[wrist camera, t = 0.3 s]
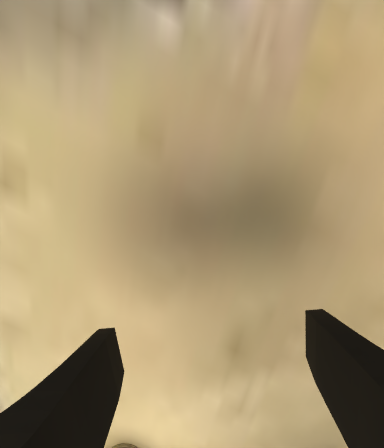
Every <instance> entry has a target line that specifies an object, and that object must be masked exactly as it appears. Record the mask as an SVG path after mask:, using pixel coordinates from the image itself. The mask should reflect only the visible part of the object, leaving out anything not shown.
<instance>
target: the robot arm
mask: <svg viewBox="0 0 384 448" xmlns="http://www.w3.org/2000/svg"><path fill="white" fill-rule="evenodd" d="M305 312H306V358H307V361H308V364H309V367H310V369H311V372H312V375H313V377H314V380H315V383H316V385H317V387H318V389H319V391H320V393H321V395H322V397H323V399H324V401H325V403H326V405H327V407H328V409H329V411H330V413H331V415H332V417H333V418H334V420H335V422H336V424H337V426H338V428H339V430H340V432H341V434H342V436H343V438H344V440H345V442H346V444H347V446H348V448H384V350H383V349H381V348H380V347H378V346H376V345H375V344H373V343H372V342H370V341H369V340H367V339H366V338H364V337H363V336H361V335H360V334H358V333H357V332H355V331H354V330H352V329H351V328H349V327H348V326H346V325H345V324H343V323H342V322H341V321H339V320H338V319H336V318H335V317H333V316H332V315H331V314H329V313H328V312H326V311H325V310H323V309H317V310H306V311H305ZM123 376H124V368H123V364H122V359H121V355H120V350H119V346H118V341H117V336H116V332H115V328H106V329H99V330H97V331H96V332H95V333H94V334H93V335H92V336H91V337H90V338H89V339H88V340H86V341H85V342H84V343H83V344H82V345H81V346H80V347H79V348H78V349H77V350H76V351H75V352H74V353H73V354H72V355H71V356H70V357H69V358H67V359H66V360H65V361H64V362H63V363H62V364H61V365H60V366H59V367H58V368H57V369H55V370H54V371H53V372H52V373H51V374H50V375H48V376H47V377H46V378H45V379H44V380H43V381H42V382H40V383H39V384H38V385H37V386H36V387H35V388H33V389H32V390H31V391H30V392H28V393H27V394H26V395H25V396H23V397H22V398H21V399H19V400H18V401H17V402H15V403H14V404H13V405H11V406H10V407H9V408H7V409H6V410H4V411H3V412H2V413H0V448H104V445H105V442H106V439H107V436H108V433H109V430H110V426H111V423H112V420H113V417H114V414H115V411H116V407H117V404H118V401H119V397H120V392H121V387H122V381H123Z"/></svg>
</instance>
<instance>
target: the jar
mask: <svg viewBox="0 0 384 448" xmlns="http://www.w3.org/2000/svg"><path fill="white" fill-rule="evenodd" d="M113 448H137V447H136V446H134V445H131V444H118V445H116V446H114V447H113Z"/></svg>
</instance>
